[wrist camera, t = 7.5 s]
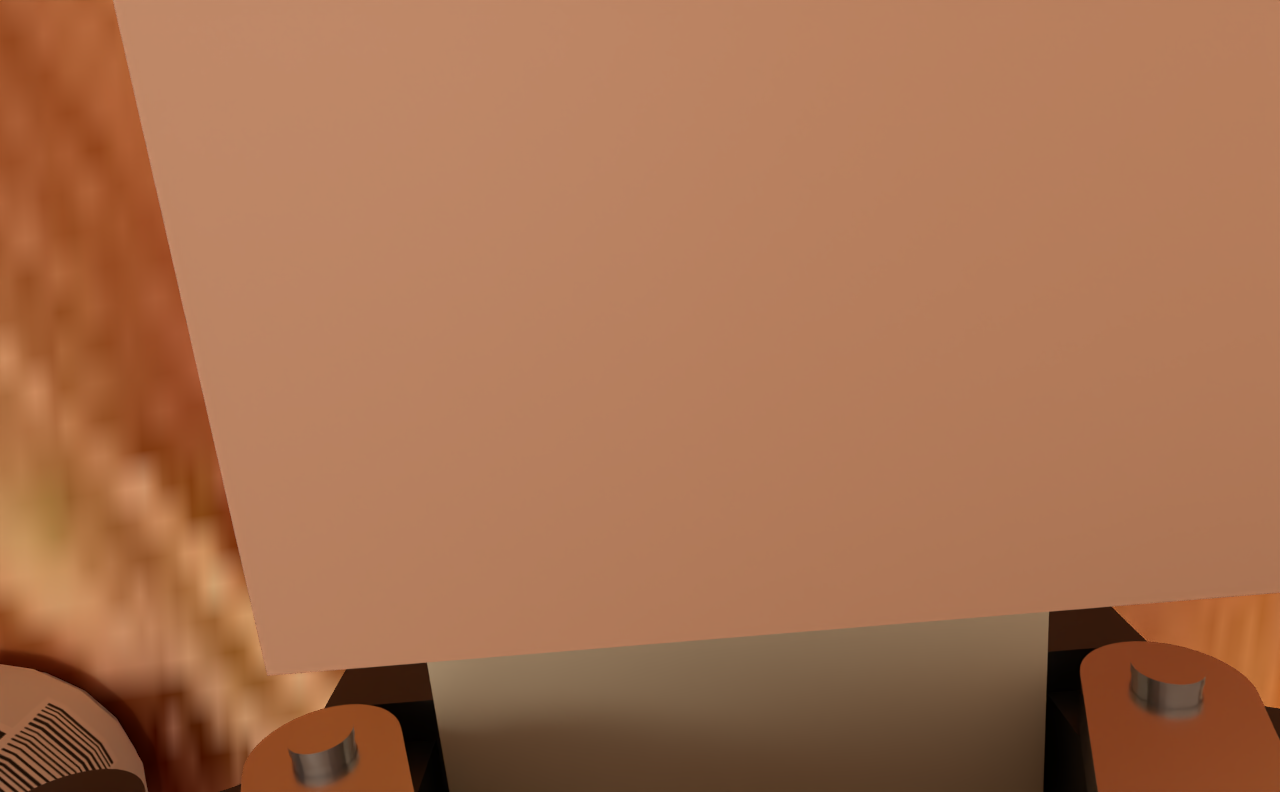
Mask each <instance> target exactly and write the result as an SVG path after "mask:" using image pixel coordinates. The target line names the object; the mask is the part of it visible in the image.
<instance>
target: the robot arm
mask: <svg viewBox="0 0 1280 792" xmlns="http://www.w3.org/2000/svg"><path fill="white" fill-rule="evenodd" d="M27 792H146V790H145V786H144V784H143V782H142V780H141V779H140V778H139V777H138V776H137V775H135V774H133V773H131V772H128V771H125V770H119V769H97V770H89V771H84V772H79V773H75V774H71V775H68V776H64V777H61V778H58V779H55V780H53V781H50V782H47V783H45V784H43V785H40V786H38V787H36V788H34V789H31V790H29V791H27ZM220 792H449V786H448V781H447V775H446V769H445V763H444V758H443V752H442V746H441V740H440V735H439V729H438V723H437V717H436V712H435V706H434V700H433V695H432V689H431V683H430V677H429V672H428V666H427V663H415V664H403V665H390V666H378V667H366V668H354V669H346V670H345V672H344V674H343V676H342V678H341V679H340V681H339V683H338V685H337V687H336V688H335V690H334V692H333V694H332V695H331V697H330V699H329V701H328V703H327V704H326V706H325V708H324V709H320V710H317V711H314V712H311V713H308V714H306V715H303V716H301V717H298V718H296V719H294V720H292V721H290V722H288V723H286V724H284V725H283V726H281V727H280V728H278V729H276V730H275V731H273V732H272V733H271V734H269V735H268V736H267V737H266V738H264V739H263V740H262V741H261V742H260V743H259V744H258V745H257V746H256V747H255V748H254V749H253V751H252V752H251V753H250V755H249V756H248V758H247V760H246V762H245V764H244V767H243V772H242V780H241V784H240V785H237V786H235V787H232V788H229V789H226V790H223V791H220ZM1043 792H1280V709H1279V708H1272V707H1267V706H1264V704H1263V702H1262V700H1261V698H1260V696H1259V693H1258V692H1257V690H1256V688H1255V687H1254V685H1253V684H1252V683H1251V682H1250V681H1249V680H1248V679H1247V678H1246V677H1245V676H1244V675H1243V674H1241V673H1240V672H1239V671H1237V670H1236V669H1234V668H1233V667H1231V666H1229V665H1228V664H1226V663H1224V662H1222V661H1220V660H1218V659H1216V658H1214V657H1212V656H1209V655H1206V654H1204V653H1201V652H1198V651H1195V650H1191V649H1188V648H1185V647H1180V646H1176V645H1171V644H1165V643H1157V642H1147V641H1146V640H1145V639H1144V638H1143V637H1142V636H1141V635H1140V634H1139V633H1138V632H1137V631H1136V630H1134V629H1133V628H1132V627H1131V626H1130V625H1129V624H1128V623H1127V622H1126V621H1125V620H1124V619H1123V618H1122V617H1121V616H1120V615H1119V614H1118V613H1117V612H1116V611H1115V610H1114V609H1113V608H1112V607H1099V608H1087V609H1075V610H1062V611H1050V612H1049V627H1048V657H1047V688H1046V719H1045V749H1044V780H1043Z"/></svg>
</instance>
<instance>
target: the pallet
mask: <svg viewBox="0 0 1280 792" xmlns="http://www.w3.org/2000/svg"><path fill="white" fill-rule="evenodd" d="M1048 627H1049V612H1038V613H1026V614H1014V615H1001V616H989V617H977V618H965V619H952V620H940V621H928V622H916V623H904V624H891V625H879V626H867V627H855V628H843V629H830V630H818V631H806V632H794V633H781V634H769V635H757V636H745V637H733V638H720V639H708V640H696V641H684V642H671V643H659V644H647V645H635V646H622V647H610V648H598V649H586V650H574V651H561V652H549V653H537V654H525V655H513V656H500V657H488V658H476V659H464V660H451V661H439V662H427V666H428V672H429V677H430V683H431V689H432V695H433V700H434V706H435V712H436V717H437V723H438V729H439V735H440V740H441V746H442V752H443V758H444V763H445V769H446V775H447V781H448V786H449V792H1043V780H1044V749H1045V719H1046V688H1047V657H1048Z"/></svg>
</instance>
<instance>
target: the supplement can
mask: <svg viewBox="0 0 1280 792" xmlns="http://www.w3.org/2000/svg"><path fill="white" fill-rule="evenodd" d="M97 769H119V770H125V771H128V772H131V773H133V774H135V775H137V776H138V777H139V778H140V779H141V780H142V782H143V784H144V786H145V790H146V792H148V790H147V784H146V779H145V773H144V767H143V763H142V761H141V759H140V758H139V756H138V754H137V752H136V749H135V748H134V746H133V744H132V743H131V741H130V740H129V738H128V736H127V735H126V733H125V731H124V730H123V728H122V726H121V725H120V723H119V721H118V720H117V718H116V717H115V716H114V715H113V714H111V713H110V712H109V711H108V710H107V709H106V708H104V707H103V706H102V705H101V704H100V703H99V702H98V701H96V700H95V699H94V698H93V697H92V696H91V695H89V694H88V693H87V692H86V691H85V690H83V689H80V688H78V687H76V686H74V685H72V684H69V683H67V682H65V681H63V680H61V679H59V678H56V677H54V676H52V675H50V674H48V673H45V672H39V671H37V670H35V669H30V668H23V667H16V666H9V665H2V664H0V792H27V791H29V790H31V789H34V788H36V787H38V786H40V785H43V784H45V783H47V782H50V781H53V780H55V779H58V778H61V777H64V776H68V775H71V774H75V773H79V772H84V771H89V770H97Z"/></svg>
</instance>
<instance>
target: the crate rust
mask: <svg viewBox="0 0 1280 792" xmlns="http://www.w3.org/2000/svg"><path fill="white" fill-rule="evenodd" d="M113 3H114V7H115V11H116V16H117V20H118V24H119V29H120V33H121V38H122V42H123V46H124V51H125V55H126V59H127V64H128V68H129V73H130V77H131V81H132V86H133V90H134V94H135V99H136V103H137V108H138V112H139V116H140V121H141V125H142V129H143V134H144V138H145V143H146V147H147V151H148V156H149V160H150V164H151V169H152V173H153V178H154V182H155V186H156V191H157V195H158V199H159V204H160V208H161V213H162V217H163V221H164V226H165V230H166V234H167V239H168V243H169V248H170V252H171V256H172V261H173V265H174V269H175V274H176V278H177V283H178V287H179V291H180V296H181V300H182V304H183V309H184V313H185V318H186V322H187V326H188V331H189V335H190V339H191V344H192V348H193V353H194V357H195V361H196V366H197V370H198V374H199V379H200V383H201V387H202V392H203V396H204V401H205V405H206V409H207V414H208V418H209V422H210V427H211V431H212V436H213V440H214V444H215V449H216V453H217V457H218V462H219V466H220V471H221V475H222V479H223V484H224V488H225V492H226V497H227V501H228V506H229V510H230V514H231V519H232V523H233V527H234V532H235V536H236V541H237V545H238V549H239V554H240V558H241V562H242V567H243V571H244V576H245V580H246V584H247V589H248V593H249V597H250V602H251V606H252V611H253V615H254V619H255V624H256V628H257V632H258V637H259V641H260V646H261V650H262V654H263V659H264V663H265V667H266V672H267V676H268V675H280V674H293V673H305V672H317V671H329V670H341V669H354V668H366V667H378V666H390V665H403V664H415V663H427V662H439V661H451V660H464V659H476V658H488V657H500V656H513V655H525V654H537V653H549V652H561V651H574V650H586V649H598V648H610V647H622V646H635V645H647V644H659V643H671V642H684V641H696V640H708V639H720V638H733V637H745V636H757V635H769V634H781V633H794V632H806V631H818V630H830V629H843V628H855V627H867V626H879V625H891V624H904V623H916V622H928V621H940V620H952V619H965V618H977V617H989V616H1001V615H1014V614H1026V613H1038V612H1050V611H1062V610H1075V609H1087V608H1099V607H1111V606H1124V605H1136V604H1148V603H1160V602H1172V601H1185V600H1197V599H1209V598H1221V597H1234V596H1246V595H1258V594H1270V593H1280V0H113Z"/></svg>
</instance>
